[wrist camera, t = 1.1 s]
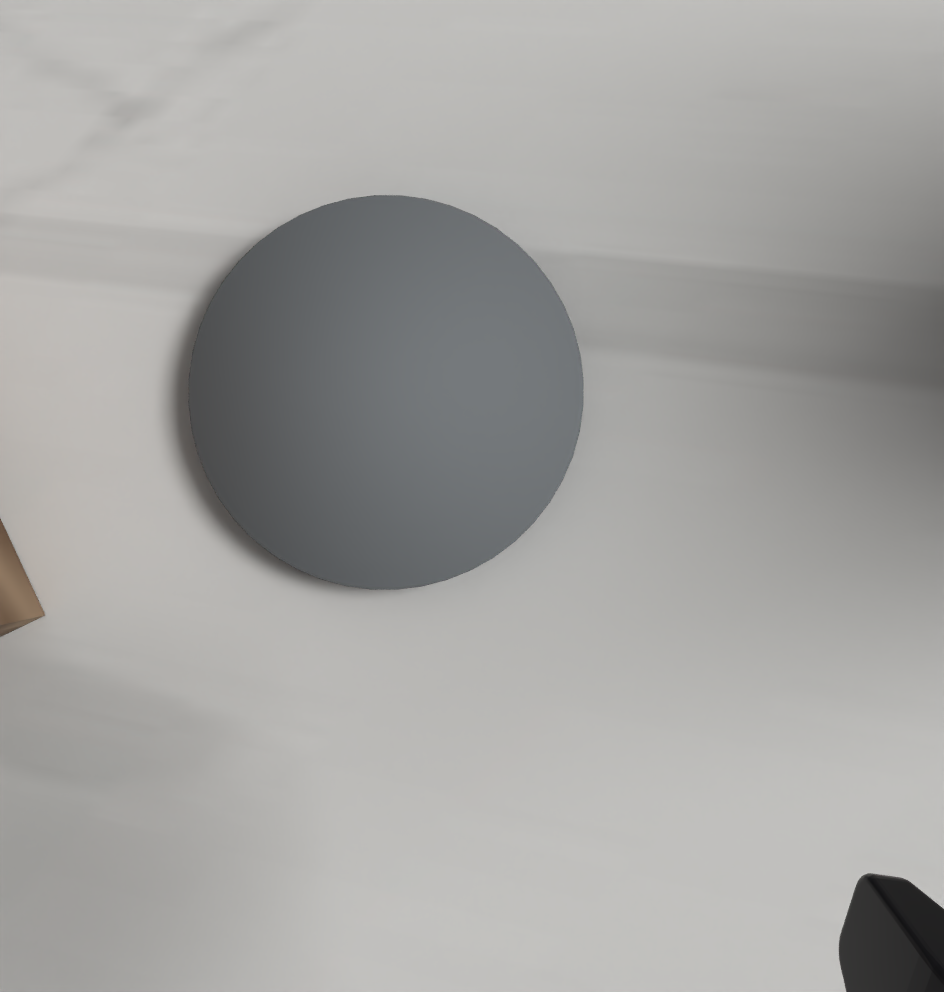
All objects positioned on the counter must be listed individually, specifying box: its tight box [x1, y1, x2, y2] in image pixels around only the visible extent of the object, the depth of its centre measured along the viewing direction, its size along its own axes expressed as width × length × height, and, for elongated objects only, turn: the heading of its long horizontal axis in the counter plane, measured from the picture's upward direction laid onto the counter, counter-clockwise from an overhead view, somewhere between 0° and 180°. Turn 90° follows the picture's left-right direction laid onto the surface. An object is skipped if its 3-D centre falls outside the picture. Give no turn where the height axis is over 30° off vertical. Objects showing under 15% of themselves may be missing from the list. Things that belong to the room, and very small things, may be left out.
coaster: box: [189, 195, 583, 589], centre depth 23 cm, size 10×10×1 cm
